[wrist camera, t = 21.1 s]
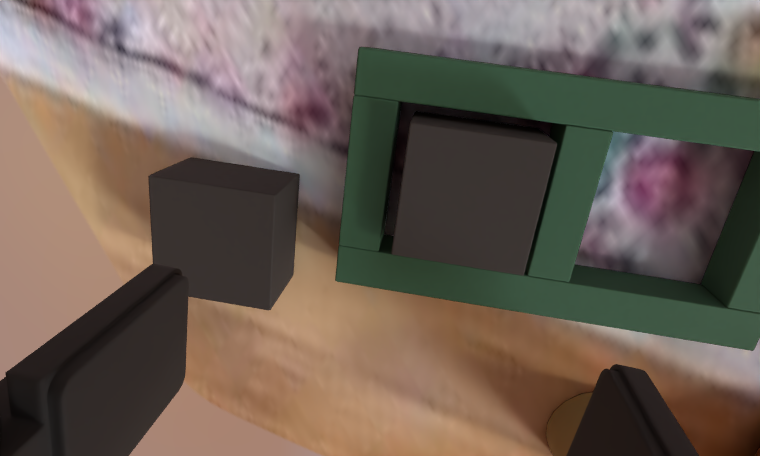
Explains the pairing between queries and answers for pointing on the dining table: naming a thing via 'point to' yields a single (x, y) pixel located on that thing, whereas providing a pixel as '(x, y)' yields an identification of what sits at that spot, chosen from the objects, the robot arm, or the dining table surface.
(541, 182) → the pad
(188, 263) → the pad
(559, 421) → the pepper mill
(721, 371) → the dining table surface
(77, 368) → the robot arm
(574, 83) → the green rectangular frame
